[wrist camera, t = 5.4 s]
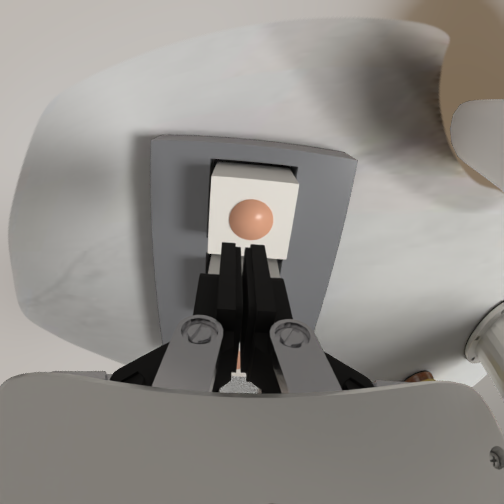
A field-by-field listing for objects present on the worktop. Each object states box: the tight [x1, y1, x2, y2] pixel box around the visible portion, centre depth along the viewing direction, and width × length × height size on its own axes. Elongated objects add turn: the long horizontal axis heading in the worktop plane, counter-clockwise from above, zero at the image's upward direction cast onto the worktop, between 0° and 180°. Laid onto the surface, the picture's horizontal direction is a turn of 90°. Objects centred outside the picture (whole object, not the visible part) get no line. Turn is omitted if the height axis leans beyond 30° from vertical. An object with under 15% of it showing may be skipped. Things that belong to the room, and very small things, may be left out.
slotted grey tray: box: [151, 135, 358, 345], centre depth 25 cm, size 14×22×3 cm, turn 174°
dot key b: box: [208, 162, 299, 260], centre depth 19 cm, size 5×5×4 cm
